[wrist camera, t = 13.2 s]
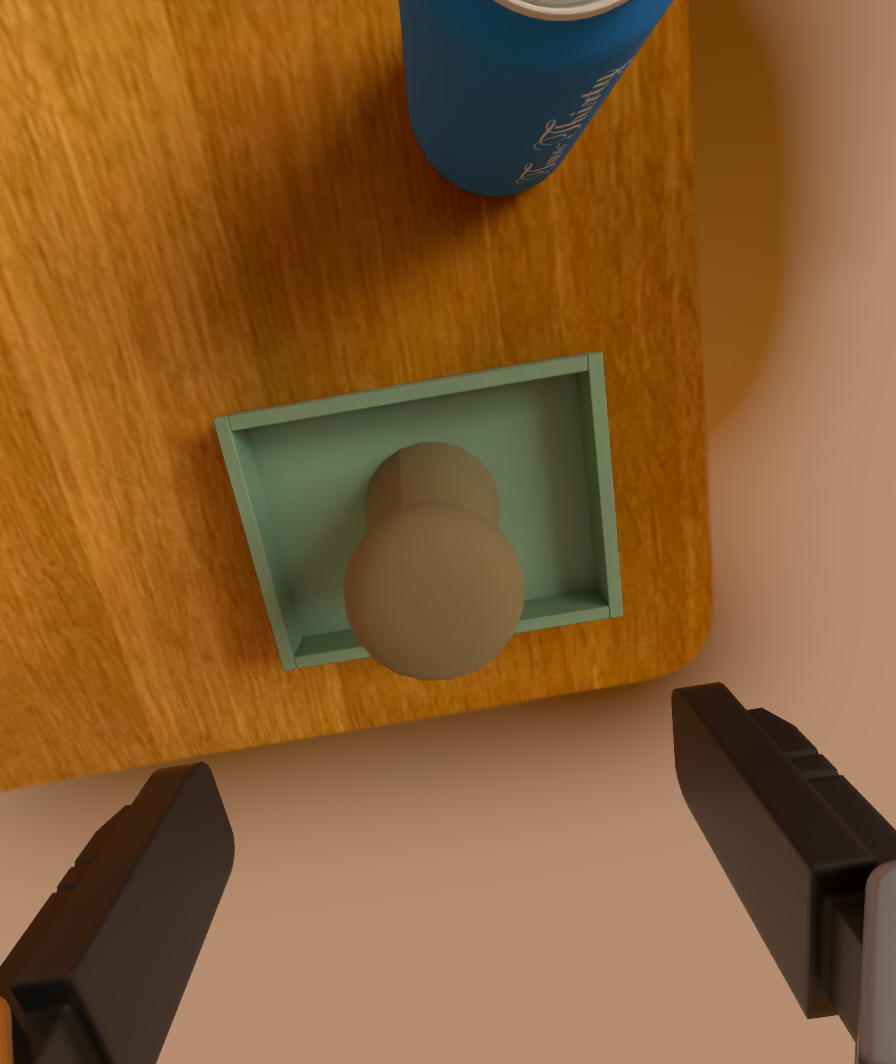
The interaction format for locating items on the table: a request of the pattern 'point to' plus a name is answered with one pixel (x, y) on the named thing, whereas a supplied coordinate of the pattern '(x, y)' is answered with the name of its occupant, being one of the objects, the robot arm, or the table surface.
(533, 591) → the green tray
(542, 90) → the beverage can
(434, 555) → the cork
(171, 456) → the table surface
